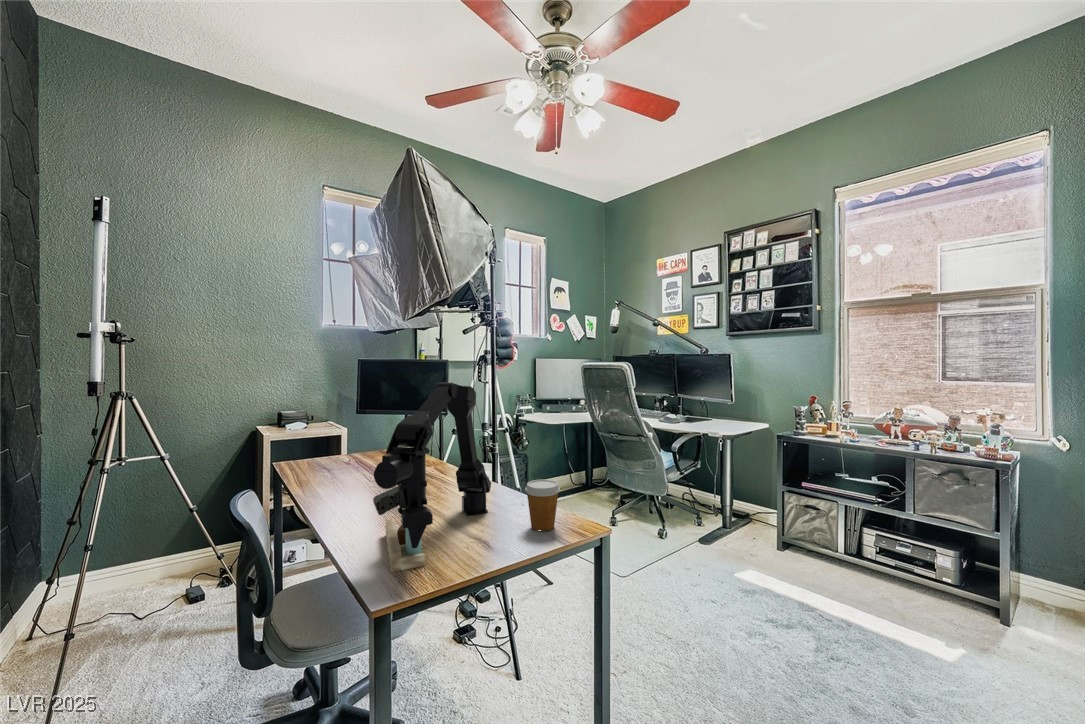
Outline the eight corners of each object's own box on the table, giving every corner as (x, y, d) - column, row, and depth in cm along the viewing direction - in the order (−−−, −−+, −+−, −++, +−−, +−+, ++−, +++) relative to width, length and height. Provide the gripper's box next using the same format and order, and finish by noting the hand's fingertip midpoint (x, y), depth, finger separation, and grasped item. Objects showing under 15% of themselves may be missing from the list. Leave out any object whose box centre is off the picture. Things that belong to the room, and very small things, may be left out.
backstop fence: (413, 531, 118) (413, 516, 118) (424, 565, 98) (424, 548, 98) (385, 535, 115) (385, 520, 115) (391, 571, 95) (391, 553, 95)
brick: (412, 548, 107) (412, 529, 107) (396, 549, 107) (396, 530, 107) (422, 531, 118) (422, 514, 118) (407, 532, 118) (407, 514, 118)
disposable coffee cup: (529, 520, 126) (529, 478, 126) (562, 522, 124) (562, 479, 124) (521, 533, 116) (521, 488, 116) (557, 535, 115) (557, 489, 114)
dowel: (405, 559, 102) (404, 525, 102) (420, 556, 103) (420, 523, 103) (406, 566, 98) (406, 530, 98) (422, 563, 100) (422, 528, 100)
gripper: (374, 470, 106) (374, 534, 106) (376, 492, 89) (377, 568, 89) (421, 465, 110) (421, 527, 111) (432, 485, 93) (433, 558, 93)
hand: (413, 543), depth 101 cm, fingers open, 4 cm apart
